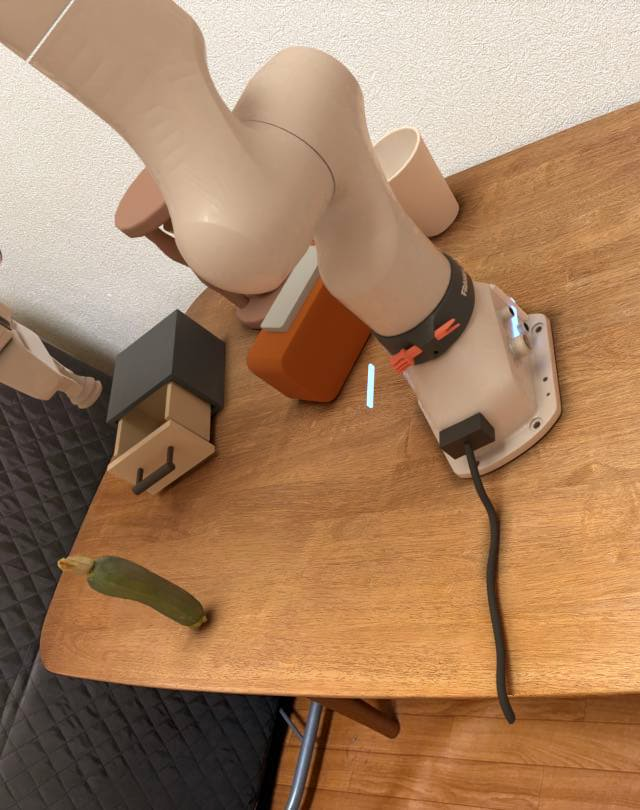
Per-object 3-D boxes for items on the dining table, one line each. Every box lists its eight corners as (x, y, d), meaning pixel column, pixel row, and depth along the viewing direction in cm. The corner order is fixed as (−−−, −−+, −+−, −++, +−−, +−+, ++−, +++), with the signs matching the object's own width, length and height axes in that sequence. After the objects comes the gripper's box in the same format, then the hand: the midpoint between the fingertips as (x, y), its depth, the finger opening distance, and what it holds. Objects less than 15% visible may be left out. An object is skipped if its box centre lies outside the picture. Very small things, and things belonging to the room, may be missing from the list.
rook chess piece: (77, 415, 114) (22, 384, 109) (85, 391, 117) (31, 359, 112) (99, 401, 113) (44, 369, 107) (107, 377, 116) (53, 344, 110)
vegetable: (199, 604, 105) (52, 541, 92) (224, 594, 104) (78, 528, 90) (192, 637, 103) (40, 578, 89) (217, 628, 101) (66, 565, 87)
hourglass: (241, 348, 134) (104, 249, 117) (246, 281, 146) (122, 182, 129) (325, 291, 129) (194, 179, 112) (323, 226, 141) (205, 115, 124)
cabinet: (223, 407, 128) (171, 373, 121) (159, 453, 131) (105, 422, 124) (224, 342, 139) (177, 308, 132) (166, 386, 142) (116, 355, 135)
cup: (446, 252, 117) (388, 191, 108) (394, 248, 125) (337, 192, 116) (486, 186, 120) (433, 122, 112) (434, 187, 128) (381, 127, 120)
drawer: (213, 474, 118) (167, 448, 112) (151, 519, 121) (103, 495, 115) (216, 384, 131) (175, 357, 125) (160, 426, 134) (117, 401, 128)
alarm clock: (370, 266, 126) (317, 216, 118) (408, 264, 121) (354, 211, 113) (295, 404, 118) (232, 360, 110) (332, 408, 112) (268, 362, 104)
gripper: (-53, 323, 111) (45, 379, 120) (-35, 373, 96) (75, 432, 105) (-20, 286, 111) (74, 344, 121) (3, 330, 97) (108, 392, 106)
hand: (75, 385), depth 113 cm, fingers closed on rook chess piece, 3 cm apart
